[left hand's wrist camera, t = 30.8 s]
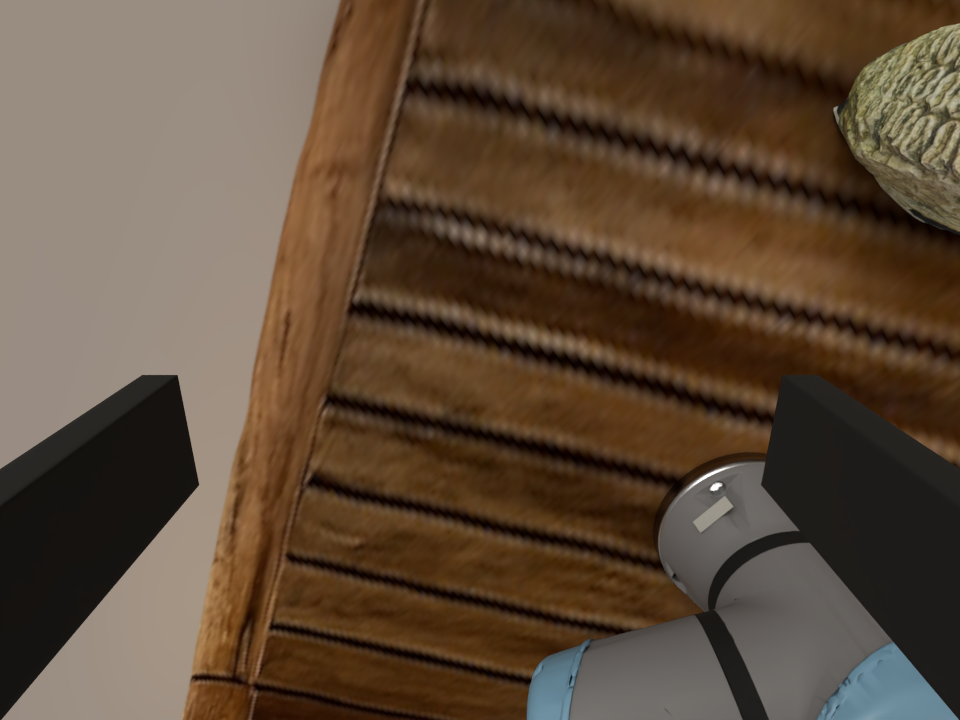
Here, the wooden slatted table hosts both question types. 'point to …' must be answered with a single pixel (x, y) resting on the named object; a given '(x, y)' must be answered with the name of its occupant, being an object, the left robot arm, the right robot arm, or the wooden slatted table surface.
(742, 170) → the wooden slatted table surface
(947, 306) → the wooden slatted table surface
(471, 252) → the wooden slatted table surface
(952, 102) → the fossil
